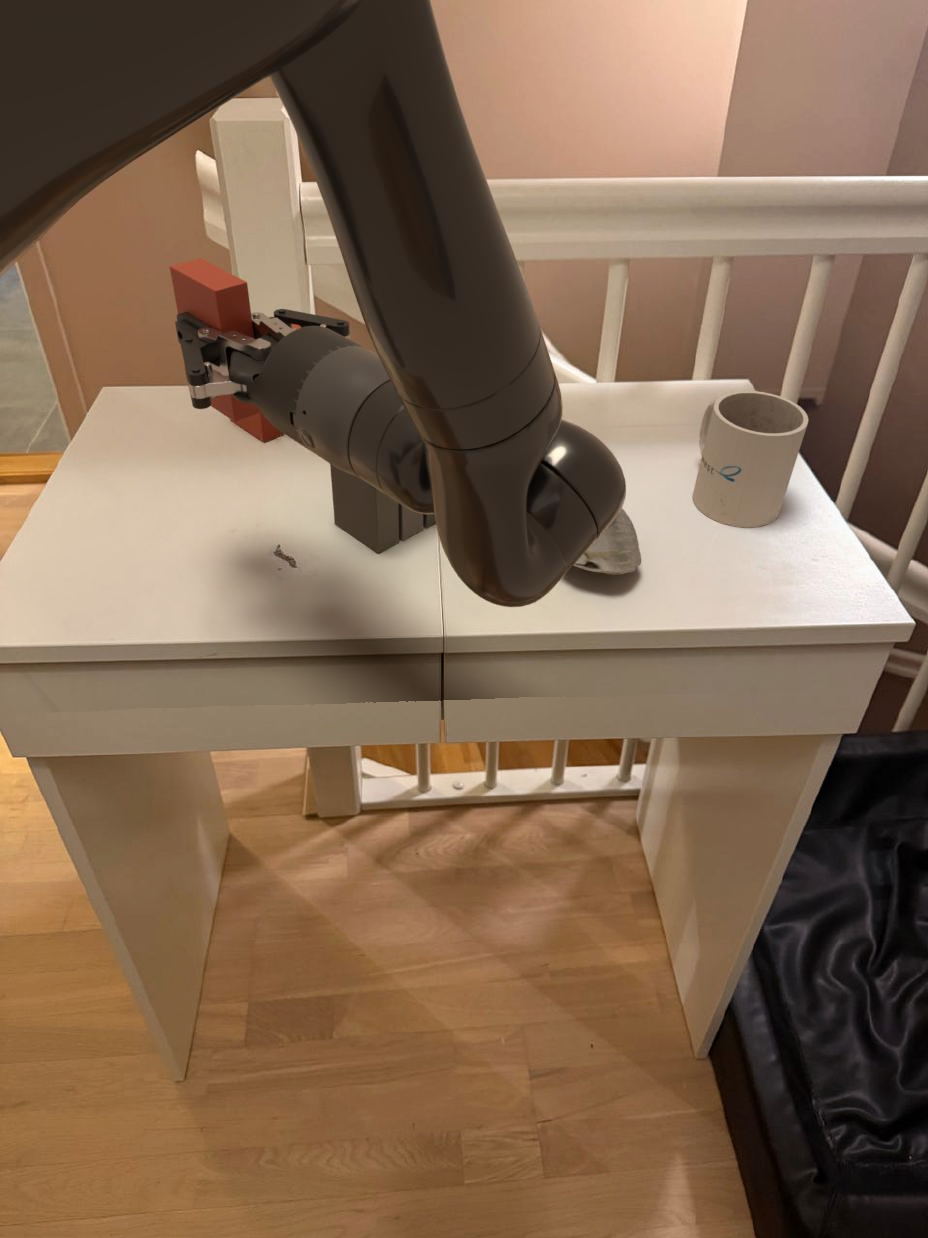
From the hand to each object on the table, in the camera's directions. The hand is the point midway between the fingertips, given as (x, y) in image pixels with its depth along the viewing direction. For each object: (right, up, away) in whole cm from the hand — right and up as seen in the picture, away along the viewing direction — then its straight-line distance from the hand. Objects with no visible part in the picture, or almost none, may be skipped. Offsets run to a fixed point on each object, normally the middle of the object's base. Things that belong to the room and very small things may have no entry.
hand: (201, 320), depth 67 cm
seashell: (+31, -17, +16) cm, 39 cm away
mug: (+47, -10, +25) cm, 54 cm away
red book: (+1, -5, +3) cm, 6 cm away
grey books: (+13, -13, +19) cm, 26 cm away
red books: (-1, 0, +33) cm, 33 cm away
